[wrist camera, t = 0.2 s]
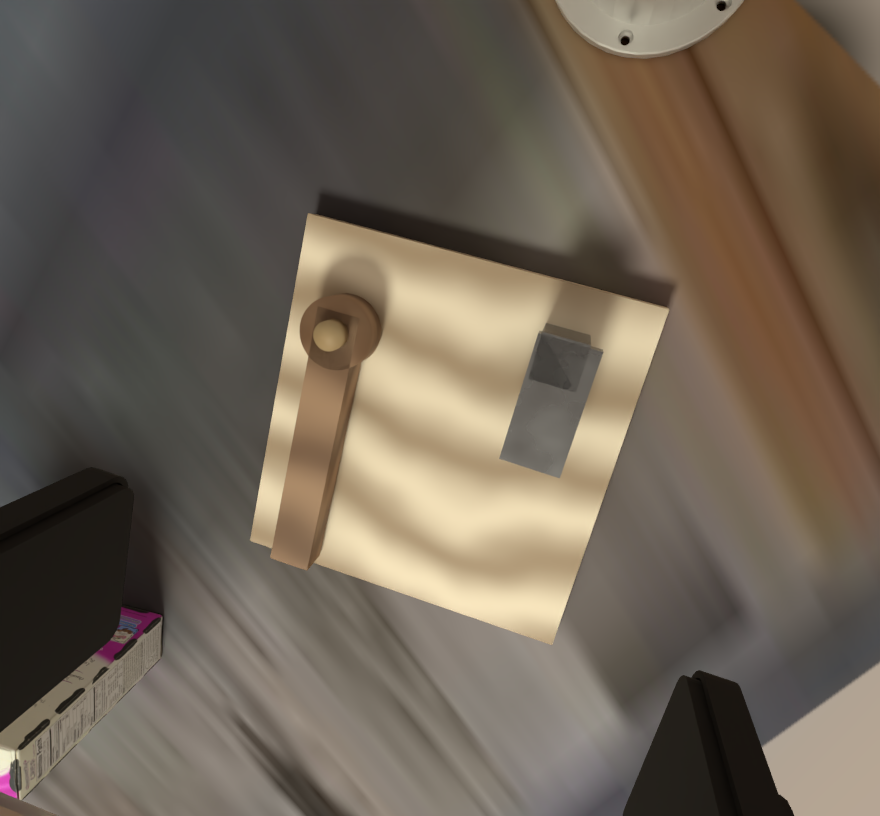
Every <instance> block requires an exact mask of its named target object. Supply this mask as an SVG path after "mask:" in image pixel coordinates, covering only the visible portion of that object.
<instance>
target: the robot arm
mask: <svg viewBox="0 0 880 816" xmlns="http://www.w3.org/2000/svg"><path fill="white" fill-rule="evenodd" d="M743 1H744V0H555V2H556V4H557V6H558V8H559V10H560V12H561V14H562V16H563V17H564V18H565V19H566V21H567V22H568V23H569V25H570V26H571V27H572V28H573V30H574V31H575V32H576V33H578V34H579V35H580V36H581V37H582V38H584V39H585V40H586V41H587V42H588V43H590V44H592V45H593V46H595V47H597V48H599V49H601V50H603V51H605V52H607V53H611V54H615V55H618V56H622V57H626V58H644V59H646V58H653V57H660V56H667V55H670V54H672V53H675V52H678V51H681V50H684V49H687V48H689V47H691V46H692V45H694V44H696V43H698V42H699V41H701V40H703V39H705V38H707V37H708V36H709V35H710V34H712V33H713V32H714V31H715V30H717V29H718V28H719V27H720V26H722V25H723V24H724V23H725V22H726V21H727V20H728V19H729V18H730V17H731V16H732V14H733V13H734V12H735V11H736V10H737V9H738V8H739V7H740V5H741V4H742V3H743ZM720 3H722V4H724V6H725V10H723V11H719V10H718V9H717V5H718V4H720ZM623 38H627V39H628V40H629V44H627V45H622V44H621V40H622V39H623ZM133 501H134V494H133V491H132V490H131V489H130V488H128V484H127V481H126V479H124V478H123V477H121V476H118V475H115V474H112V473H109V472H106V471H103V470H100V469H97V468H92V467H91V468H87V469H84V470H82V471H80V472H78V473H76V474H73V475H71V476H69V477H67V478H64V479H62V480H60V481H58V482H56V483H53V484H51V485H49V486H47V487H44V488H42V489H40V490H38V491H36V492H33V493H31V494H29V495H27V496H24V497H22V498H20V499H18V500H16V501H13V502H11V503H9V504H7V505H4V506H2V507H0V733H1V732H2V731H3V730H4V729H5V728H7V727H8V726H9V725H10V724H11V723H13V722H14V721H15V720H16V719H17V718H19V717H20V716H21V715H22V714H23V713H24V712H26V711H27V710H28V709H29V708H30V707H32V706H33V705H34V704H35V703H36V702H38V701H39V700H40V699H41V698H42V697H44V696H45V695H46V694H47V693H48V692H50V691H51V690H52V689H53V688H54V687H56V686H57V685H58V684H59V683H60V682H62V681H63V680H64V679H65V678H66V677H68V676H69V675H70V674H71V673H72V672H73V671H75V670H76V669H77V668H78V667H79V666H81V665H82V664H83V663H84V662H85V661H87V660H88V659H89V658H90V657H91V656H93V655H94V654H95V653H96V652H97V651H99V650H100V649H101V648H102V647H103V646H105V645H106V644H107V643H108V642H109V641H110V640H111V638H112V637H113V636H114V634H115V632H116V631H117V628H118V626H119V622H120V616H121V607H122V598H123V590H124V581H125V572H126V563H127V554H128V545H129V536H130V527H131V518H132V510H133ZM0 816H57V815H55V814H53V813H50V812H48V811H45V810H43V809H41V808H38V807H36V806H33V805H31V804H29V803H26V802H24V801H21V800H19V799H17V798H14V797H12V796H9V795H7V794H4V793H2V792H0ZM623 816H794V814H793V811H792V810H791V807H790V805H789V804H788V801H787V800H786V799H784V798H783V797H782V796H781V795H778V792H777V789H776V787H775V783H774V781H773V778H772V775H771V772H770V769H769V767H768V764H767V761H766V758H765V755H764V753H763V750H762V747H761V744H760V741H759V739H758V736H757V733H756V730H755V727H754V725H753V722H752V719H751V716H750V713H749V711H748V708H747V705H746V702H745V699H744V697H743V694H742V691H741V688H740V686H739V685H738V684H737V683H735V682H733V681H730V680H727V679H724V678H721V677H718V676H715V675H712V674H709V673H706V672H703V671H700V670H699V671H696V672H695V673H694V674H693V676H692V678H690V677H687V676H684V675H683V676H681V677H680V678H679V680H678V682H677V684H676V686H675V689H674V691H673V693H672V696H671V698H670V701H669V703H668V705H667V708H666V710H665V713H664V715H663V717H662V720H661V722H660V725H659V727H658V729H657V732H656V734H655V737H654V739H653V741H652V744H651V746H650V749H649V751H648V753H647V756H646V758H645V761H644V763H643V765H642V768H641V770H640V773H639V775H638V777H637V780H636V782H635V785H634V787H633V789H632V792H631V794H630V797H629V799H628V802H627V804H626V806H625V809H624V812H623Z"/></svg>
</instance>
